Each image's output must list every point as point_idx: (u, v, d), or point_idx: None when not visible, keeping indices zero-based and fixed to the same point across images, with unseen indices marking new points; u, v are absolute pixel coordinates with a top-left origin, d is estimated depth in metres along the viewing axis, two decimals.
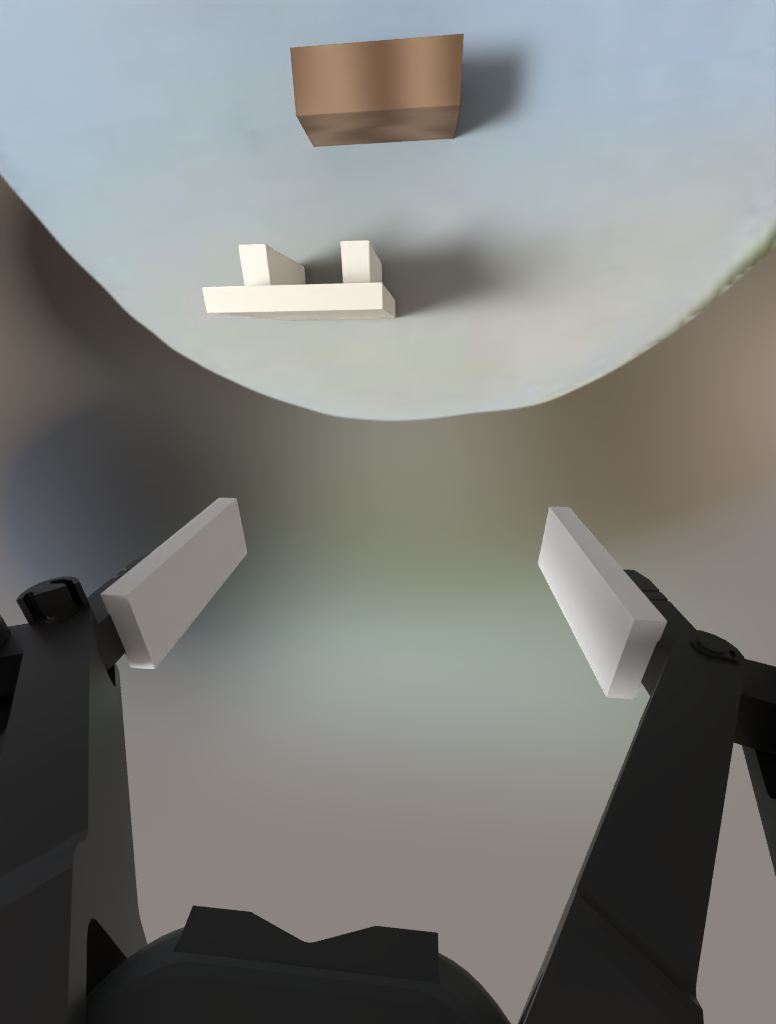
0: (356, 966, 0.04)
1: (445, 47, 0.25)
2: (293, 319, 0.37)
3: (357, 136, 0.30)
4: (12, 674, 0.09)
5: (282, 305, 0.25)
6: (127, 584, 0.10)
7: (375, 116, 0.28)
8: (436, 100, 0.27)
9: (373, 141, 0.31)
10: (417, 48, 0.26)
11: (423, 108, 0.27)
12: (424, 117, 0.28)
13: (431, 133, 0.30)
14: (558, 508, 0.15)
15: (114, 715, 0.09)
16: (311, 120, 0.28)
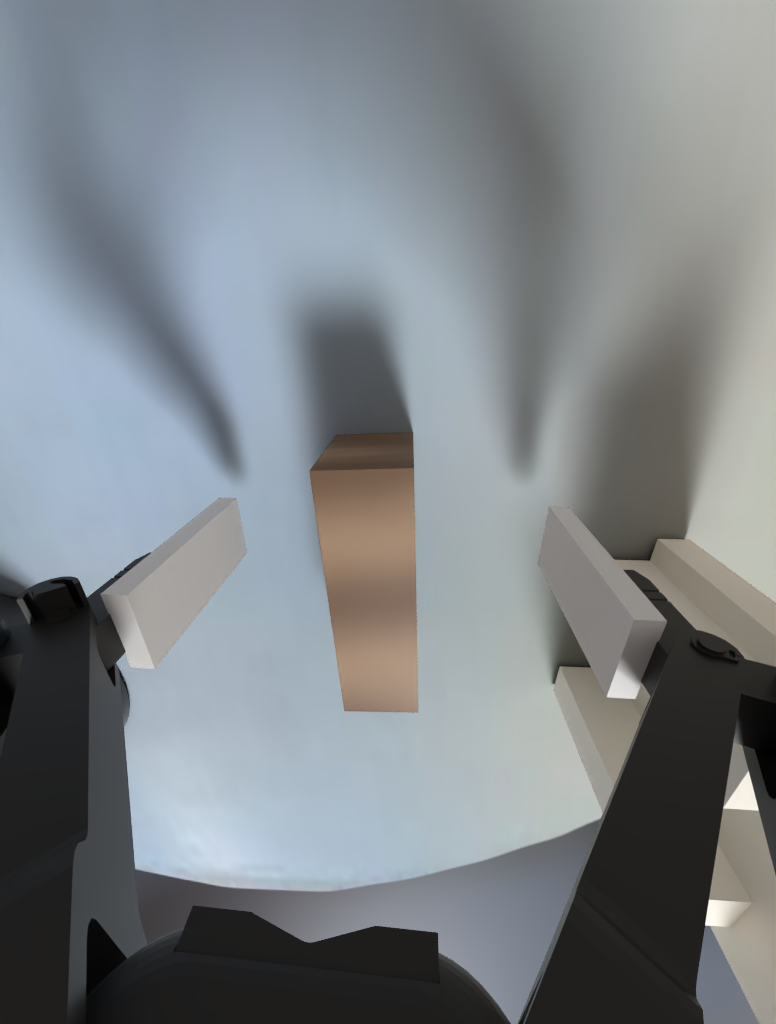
0: (356, 966, 0.04)
1: (330, 502, 0.13)
2: None
3: None
4: (12, 674, 0.09)
5: None
6: (127, 584, 0.10)
7: None
8: (406, 514, 0.13)
9: None
10: (335, 549, 0.14)
11: (414, 534, 0.14)
12: None
13: None
14: (558, 508, 0.15)
15: (114, 715, 0.09)
16: None
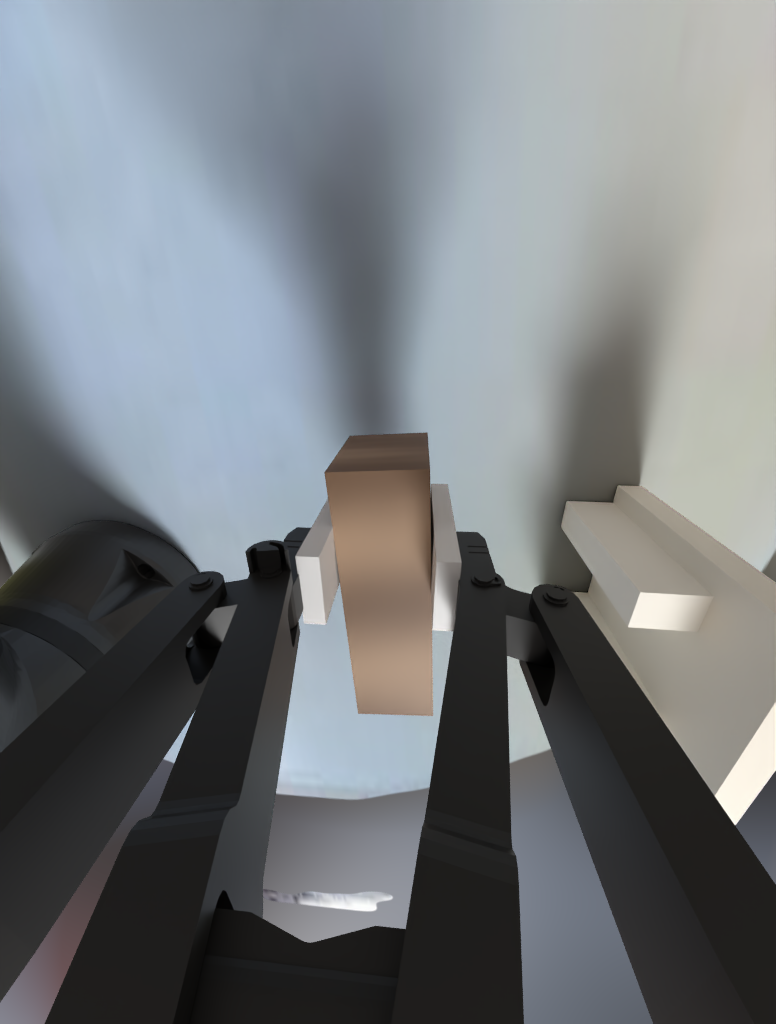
0: (356, 966, 0.04)
1: (345, 504, 0.13)
2: None
3: None
4: None
5: (763, 772, 0.15)
6: (312, 549, 0.12)
7: None
8: (422, 515, 0.13)
9: None
10: (349, 551, 0.14)
11: (430, 536, 0.13)
12: None
13: None
14: (437, 485, 0.17)
15: (287, 675, 0.10)
16: None
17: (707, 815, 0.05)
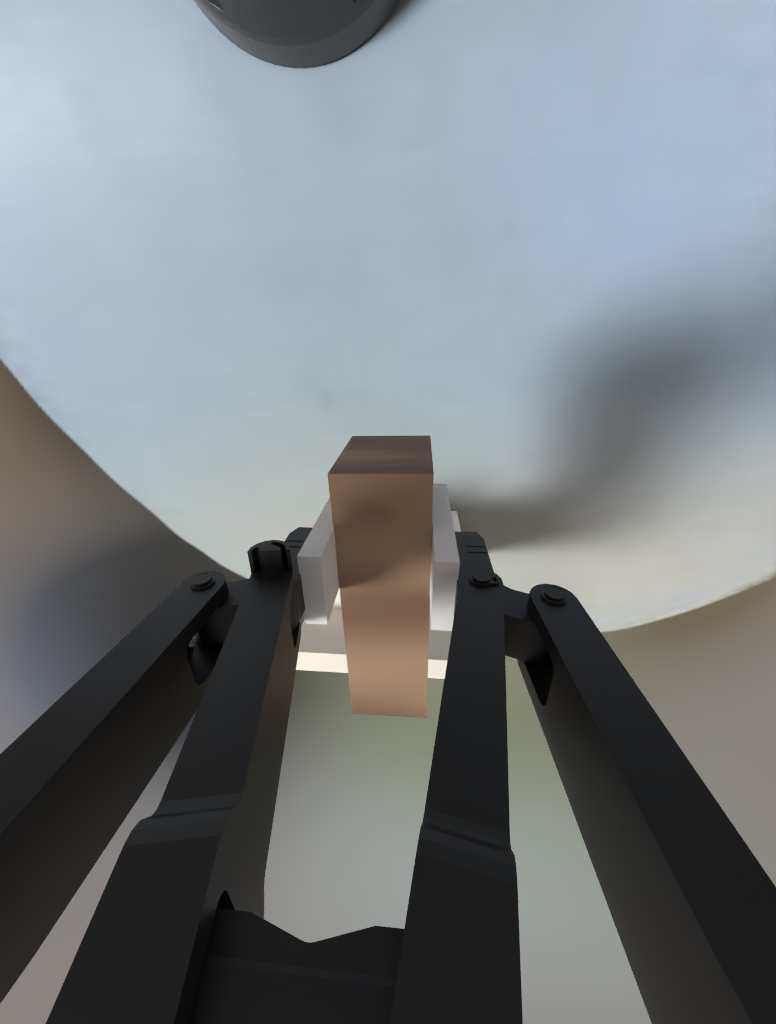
0: (356, 966, 0.04)
1: (348, 506, 0.13)
2: None
3: None
4: None
5: None
6: (313, 549, 0.12)
7: None
8: (423, 519, 0.13)
9: None
10: (350, 553, 0.14)
11: (431, 540, 0.13)
12: None
13: None
14: (436, 485, 0.17)
15: (288, 675, 0.10)
16: None
17: (704, 814, 0.05)
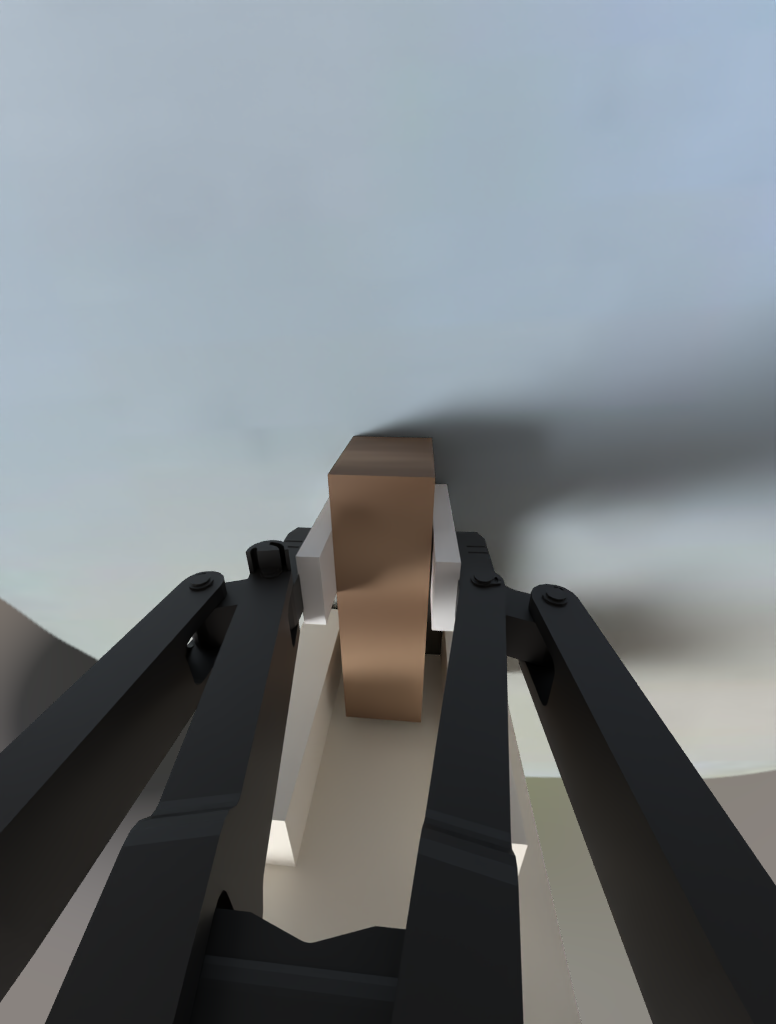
0: (356, 966, 0.04)
1: (347, 507, 0.13)
2: None
3: None
4: None
5: None
6: (312, 549, 0.12)
7: None
8: (424, 523, 0.13)
9: None
10: (348, 555, 0.13)
11: None
12: None
13: None
14: (437, 485, 0.17)
15: (287, 675, 0.10)
16: None
17: (706, 815, 0.05)
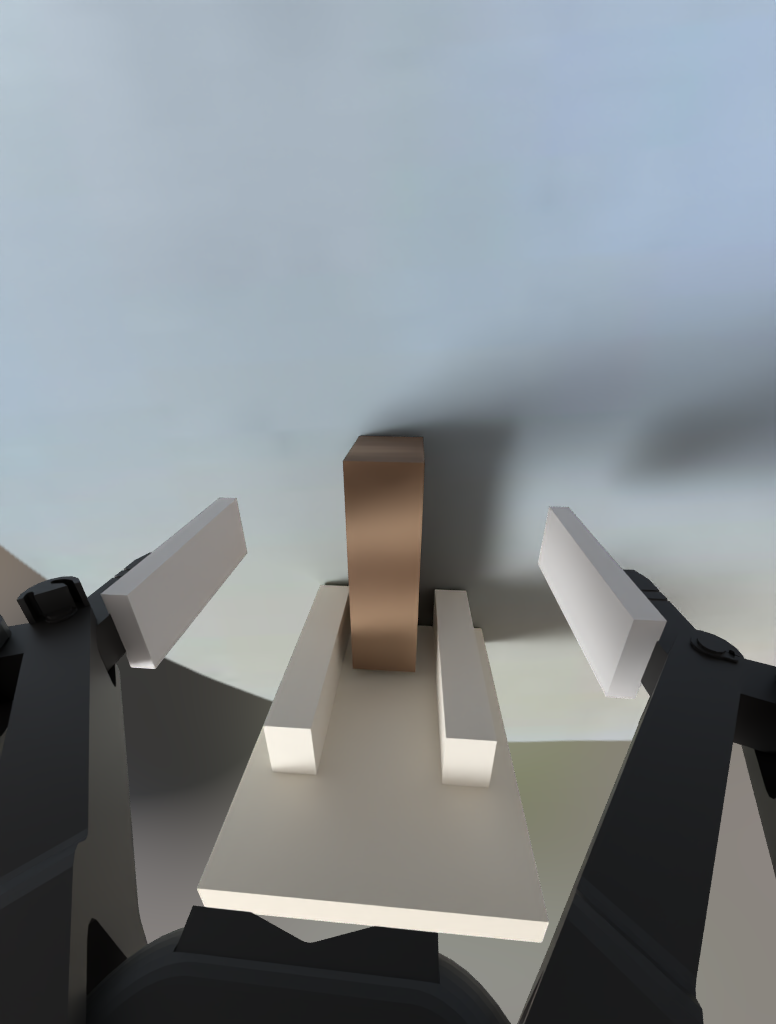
0: (356, 966, 0.04)
1: (357, 487, 0.16)
2: None
3: None
4: (12, 674, 0.09)
5: (348, 918, 0.13)
6: (127, 584, 0.10)
7: None
8: (416, 499, 0.16)
9: None
10: (357, 525, 0.17)
11: None
12: None
13: None
14: (558, 508, 0.15)
15: (114, 715, 0.09)
16: None
17: None
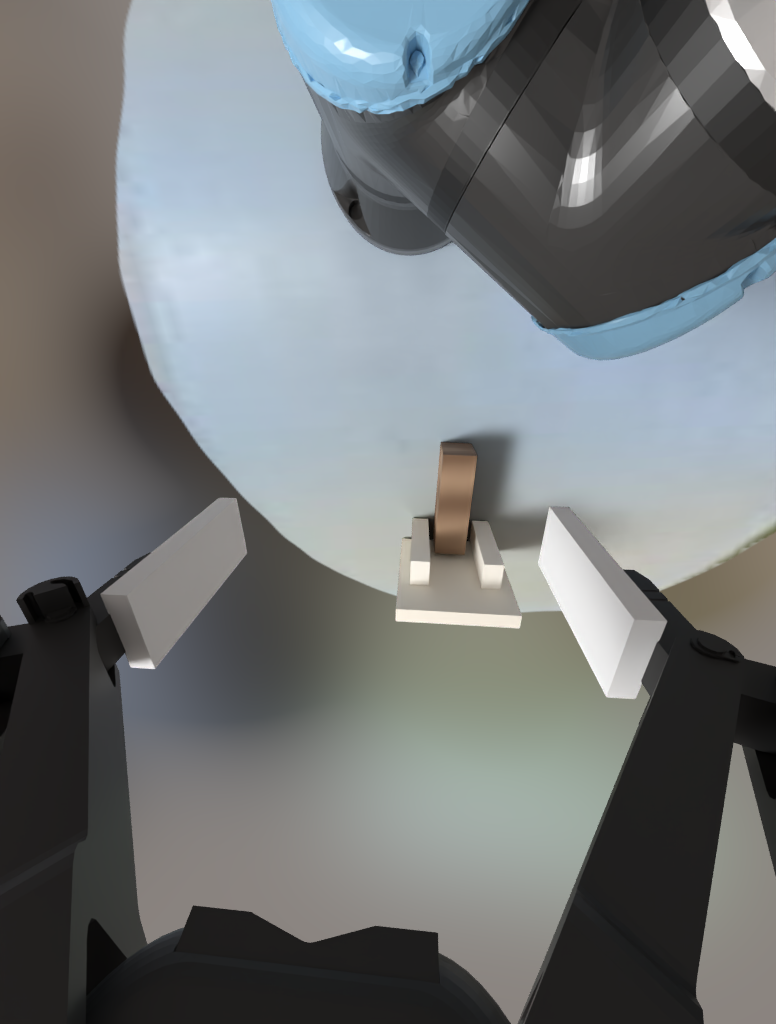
0: (356, 966, 0.04)
1: (447, 465, 0.39)
2: None
3: None
4: (12, 674, 0.09)
5: (450, 621, 0.36)
6: (127, 584, 0.10)
7: None
8: (472, 471, 0.39)
9: None
10: (445, 482, 0.40)
11: None
12: None
13: None
14: (558, 508, 0.15)
15: (114, 715, 0.09)
16: None
17: None
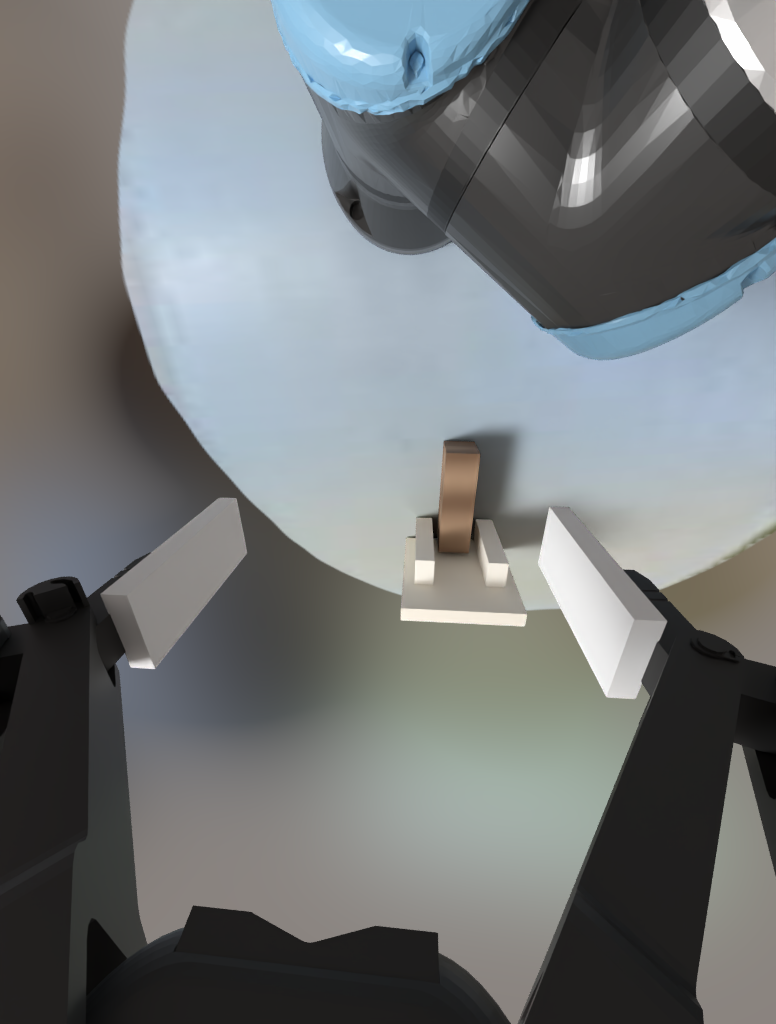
0: (356, 966, 0.04)
1: (451, 464, 0.39)
2: None
3: None
4: (12, 674, 0.09)
5: (455, 620, 0.36)
6: (127, 584, 0.10)
7: None
8: (475, 469, 0.39)
9: None
10: (449, 481, 0.40)
11: (477, 477, 0.40)
12: None
13: None
14: (558, 508, 0.15)
15: (114, 715, 0.09)
16: None
17: None
